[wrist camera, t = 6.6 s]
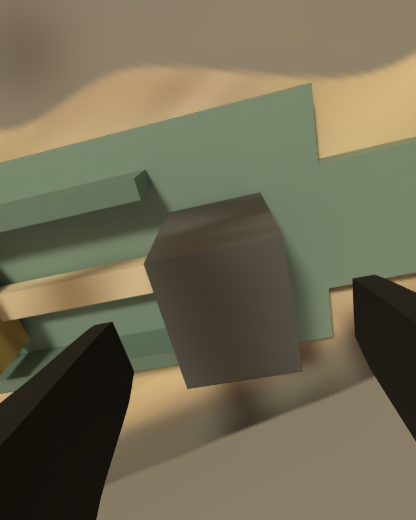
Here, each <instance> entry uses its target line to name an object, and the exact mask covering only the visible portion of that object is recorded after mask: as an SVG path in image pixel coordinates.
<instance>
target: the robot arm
mask: <svg viewBox="0 0 416 520" xmlns="http://www.w3.org/2000/svg"><path fill="white" fill-rule="evenodd" d="M352 283H353V304H354V325H355V337H356V339H357V341H358V344H359V346H360V348H361V350H362V352H363V355H364V357H365V359H366V361H367V363H368V365H369V367H370V369H371V370H372V372H373V374H374V375H375V377H376V379H377V380H378V382H379V383H380V385H381V387H382V388H383V390H384V391H385V393H386V395H387V396H388V398H389V399H390V401H391V402H392V404H393V406H394V407H395V409H396V410H397V412H398V414H399V415H400V417H401V418H402V420H403V422H404V423H405V425H406V426H407V428H408V429H409V431H410V432H411V434H412V436H413V437H414V439H415V441H416V293H415V292H413V291H411V290H409V289H407V288H405V287H403V286H400V285H398V284H396V283H394V282H392V281H390V280H387V279H385V278H383V277H380V276H378V275H375V274H374V275H369V276H363V277H358V278H352ZM133 375H134V369H133V367H132V365H131V363H130V360H129V358H128V356H127V353H126V351H125V349H124V346H123V344H122V342H121V340H120V337H119V335H118V333H117V330H116V328H115V326H114V324H113V322H108V323H102V324H97V325H94V326H92V327H91V328H89V329H88V330H87V331H85V332H84V333H83V334H82V335H81V336H79V337H78V338H77V339H76V340H75V341H73V342H72V343H71V344H70V345H69V346H68V347H66V348H65V349H64V350H63V351H62V352H61V353H60V354H58V355H57V356H56V357H55V358H54V359H53V360H52V361H50V362H49V363H48V364H47V365H46V366H45V367H43V368H42V369H41V370H40V371H39V372H38V373H37V374H35V375H34V376H33V377H32V378H30V379H29V380H28V381H27V382H26V383H24V384H23V385H22V386H21V387H19V388H18V389H17V390H16V391H15V392H13V393H12V394H11V395H10V396H9V397H7V398H6V399H5V400H4V401H2V402H1V403H0V520H96V518H97V513H98V509H99V504H100V499H101V495H102V492H103V488H104V484H105V480H106V477H107V474H108V470H109V467H110V464H111V461H112V457H113V454H114V451H115V448H116V444H117V441H118V438H119V435H120V431H121V428H122V425H123V421H124V418H125V415H126V411H127V408H128V404H129V400H130V394H131V389H132V382H133Z"/></svg>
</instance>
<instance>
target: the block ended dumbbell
mask: <svg viewBox="0 0 416 520" xmlns="http://www.w3.org/2000/svg"><path fill="white" fill-rule="evenodd" d="M150 293H154V296H155V298H156V301H157V304H158V307H159V310H160V313H161V315H162V318H163V321H164V324H165V327H166V330H167V332H168V335H169V338H170V341H171V344H172V346H173V349H174V352H175V355H176V358H177V361H178V363H179V366H180V369H181V372H182V375H183V378H184V380H185V383H186V386H187V389H191V388H197V387H204V386H210V385H217V384H223V383H230V382H236V381H243V380H249V379H256V378H262V377H269V376H276V375H282V374H289V373H295V372H302V365H301V358H300V351H299V344H298V337H297V330H296V323H295V316H294V309H293V302H292V295H291V288H290V281H289V274H288V267H287V260H286V253H285V246H284V239H283V235H282V233H281V231H280V229H279V227H278V225H277V223H276V221H275V219H274V217H273V216H272V214H271V212H270V210H269V208H268V206H267V204H266V202H265V200H264V198H263V197H262V195H261V193H260V192H259V193H254V194H250V195H245V196H241V197H236V198H232V199H227V200H223V201H218V202H214V203H209V204H205V205H200V206H196V207H191V208H187V209H182V210H178V211H173V212H169V213H167V215H166V217H165V219H164V221H163V223H162V225H161V228H160V230H159V232H158V234H157V236H156V238H155V240H154V242H153V245H152V247H151V249H150V251H149V253H148V255H147V256H145V257H140V258H136V259H131V260H126V261H121V262H116V263H111V264H107V265H102V266H97V267H92V268H87V269H82V270H78V271H73V272H68V273H63V274H58V275H53V276H49V277H44V278H39V279H34V280H29V281H24V282H20V283H15V284H10V285H5V286H1V287H0V375H1V374H2V373H3V372H4V370H5V369H6V368H7V367H8V365H9V364H10V363H11V362H12V360H13V359H14V358H15V357H16V356H17V354H18V353H19V352H20V351H21V349H22V348H23V347H24V346H25V344H26V343H27V342H28V341H29V340H30V338H29V336H28V335H27V333H26V331H25V330H24V328H23V326H22V324H21V323H20V321H19V319H20V318H25V317H30V316H35V315H41V314H46V313H51V312H56V311H61V310H67V309H72V308H77V307H82V306H87V305H93V304H98V303H103V302H108V301H113V300H119V299H124V298H129V297H134V296H139V295H145V294H150Z"/></svg>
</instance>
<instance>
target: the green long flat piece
mask: <svg viewBox="0 0 416 520" xmlns="http://www.w3.org/2000/svg"><path fill="white" fill-rule="evenodd" d="M259 192H260V193H261V195H262V197H263V198H264V200H265V202H266V204H267V206H268V208H269V210H270V212H271V214H272V216H273V217H274V219H275V221H276V223H277V225H278V227H279V229H280V231H281V233H282V235H283V239H284V246H285V253H286V260H287V267H288V274H289V281H290V288H291V295H292V302H293V309H294V316H295V323H296V330H297V337H298V342H304V341H311V340H317V339H323V338H329V337H333V332H332V321H331V309H330V297H329V288H334V287H340V286H345V285H351V284H353V283H352V278H358V277H363V276H369V275H374V274H375V275H378V276H380V277H383V278H389V277H395V276H400V275H406V274H411V273H416V137H413V138H409V139H404V140H400V141H396V142H391V143H387V144H383V145H378V146H374V147H370V148H365V149H361V150H356V151H352V152H348V153H343V154H339V155H335V156H330V157H326V158H322V159H318V155H317V143H316V131H315V120H314V108H313V96H312V84H311V83H309V84H305V85H301V86H297V87H293V88H290V89H286V90H282V91H278V92H274V93H270V94H266V95H262V96H259V97H255V98H251V99H247V100H243V101H239V102H235V103H231V104H228V105H224V106H220V107H216V108H212V109H208V110H204V111H200V112H196V113H193V114H189V115H185V116H181V117H177V118H173V119H169V120H165V121H162V122H158V123H154V124H150V125H146V126H142V127H138V128H134V129H131V130H127V131H123V132H119V133H115V134H111V135H107V136H103V137H100V138H96V139H92V140H88V141H84V142H80V143H76V144H72V145H69V146H65V147H61V148H57V149H53V150H49V151H45V152H41V153H37V154H34V155H30V156H26V157H22V158H18V159H14V160H10V161H6V162H3V163H0V287H1V286H5V285H10V284H15V283H20V282H24V281H29V280H34V279H39V278H44V277H49V276H53V275H58V274H63V273H68V272H73V271H78V270H82V269H87V268H92V267H97V266H102V265H107V264H111V263H116V262H121V261H126V260H131V259H136V258H140V257H145V256H147V255H148V253H149V251H150V249H151V247H152V245H153V242H154V240H155V238H156V236H157V234H158V232H159V230H160V228H161V225H162V223H163V221H164V219H165V217H166V215H167V213H169V212H173V211H178V210H182V209H187V208H191V207H196V206H200V205H205V204H209V203H214V202H218V201H223V200H227V199H232V198H236V197H241V196H245V195H250V194H254V193H259ZM19 321H20V323H21V324H22V326H23V328H24V330H25V331H26V333H27V335H28V336H29V338H30V340H29V341H28V342H27V343H26V344H25V346H24V347H23V348H22V349H21V351H20V352H19V353H18V354H17V356H16V357H15V358H14V359H13V360H12V362H11V363H10V364H9V365H8V367H7V368H6V369H5V370H4V372H3V373H2V374H1V375H0V394H2V393H8V392H14V391H16V390H17V389H18V388H19V387H21V386H22V385H23V384H24V383H26V382H27V381H28V380H29V379H30V378H32V377H33V376H34V375H35V374H37V373H38V372H39V371H40V370H41V369H42V368H43V367H45V366H46V365H47V364H48V363H49V362H50V361H52V360H53V359H54V358H55V357H56V356H57V355H58V354H60V353H61V352H62V351H63V350H64V349H65V348H66V347H68V346H69V345H70V344H71V343H72V342H73V341H75V340H76V339H77V338H78V337H79V336H81V335H82V334H83V333H84V332H85V331H87V330H88V329H89V328H91V327H92V326H94V325H97V324H102V323H108V322H113V324H114V326H115V328H116V330H117V333H118V335H119V337H120V340H121V342H122V344H123V346H124V349H125V351H126V353H127V356H128V358H129V360H130V363H131V365H132V367H133V369H134V372H137V371H143V370H150V369H156V368H162V367H168V366H174V365H179V363H178V361H177V358H176V355H175V352H174V349H173V346H172V344H171V341H170V338H169V335H168V332H167V330H166V327H165V324H164V321H163V318H162V315H161V313H160V310H159V307H158V304H157V301H156V298H155V296H154V293H150V294H145V295H139V296H134V297H129V298H124V299H119V300H113V301H108V302H103V303H98V304H93V305H87V306H82V307H77V308H72V309H67V310H61V311H56V312H51V313H46V314H41V315H35V316H30V317H25V318H20V319H19Z"/></svg>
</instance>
